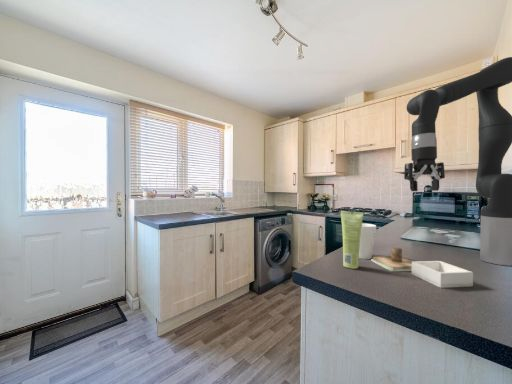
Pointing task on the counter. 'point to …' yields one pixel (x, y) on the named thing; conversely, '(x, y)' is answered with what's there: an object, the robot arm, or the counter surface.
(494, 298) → the counter surface
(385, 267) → the mat
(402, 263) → the lid
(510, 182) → the robot arm
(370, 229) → the foam cup
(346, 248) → the tube
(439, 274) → the dish
